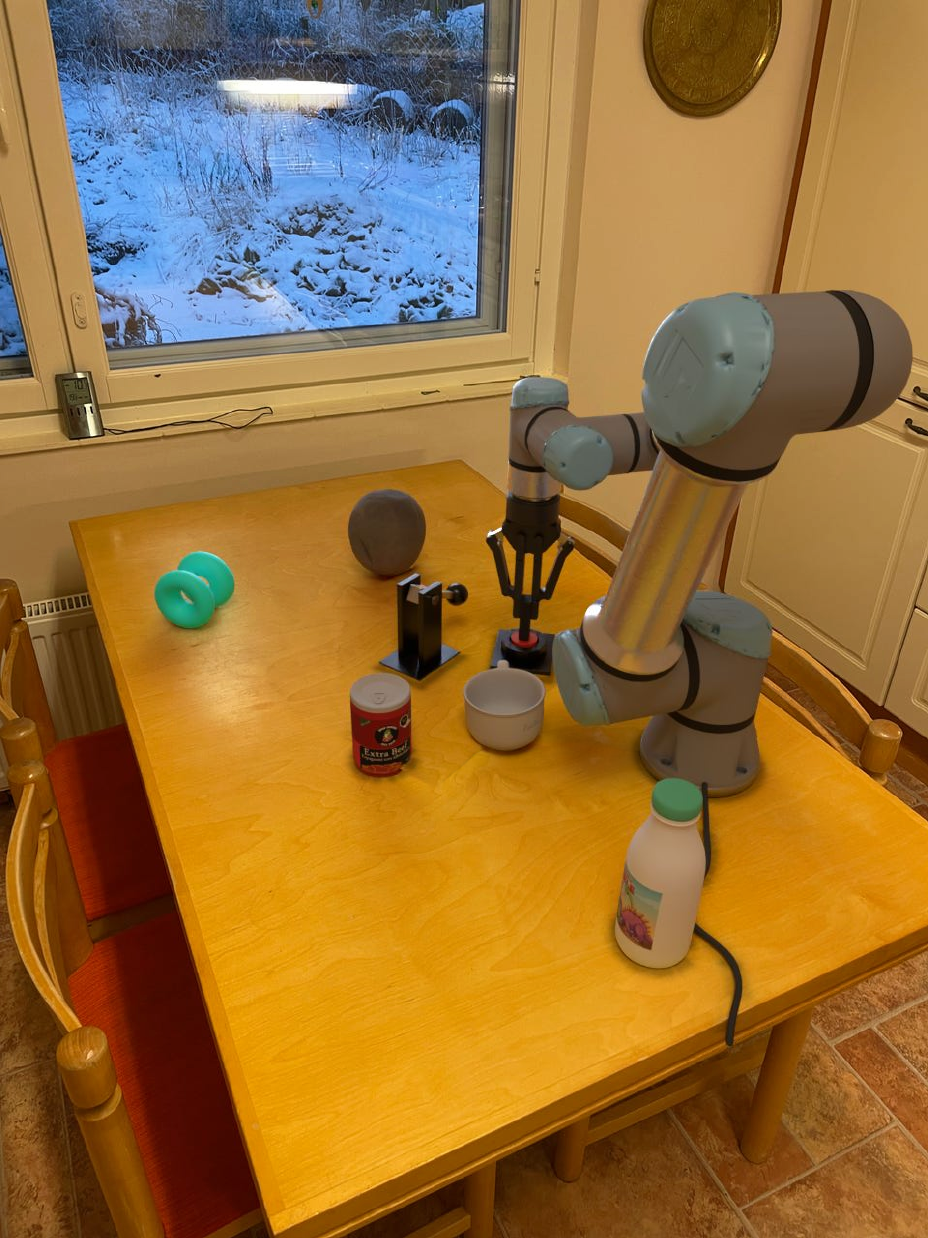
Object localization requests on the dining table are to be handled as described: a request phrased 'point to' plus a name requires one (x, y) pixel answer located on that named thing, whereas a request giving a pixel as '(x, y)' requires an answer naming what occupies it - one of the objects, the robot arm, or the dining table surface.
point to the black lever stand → (419, 632)
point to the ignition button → (523, 643)
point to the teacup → (504, 707)
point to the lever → (453, 593)
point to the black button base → (524, 652)
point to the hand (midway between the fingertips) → (524, 635)
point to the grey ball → (387, 531)
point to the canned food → (381, 724)
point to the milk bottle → (663, 878)
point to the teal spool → (194, 589)
